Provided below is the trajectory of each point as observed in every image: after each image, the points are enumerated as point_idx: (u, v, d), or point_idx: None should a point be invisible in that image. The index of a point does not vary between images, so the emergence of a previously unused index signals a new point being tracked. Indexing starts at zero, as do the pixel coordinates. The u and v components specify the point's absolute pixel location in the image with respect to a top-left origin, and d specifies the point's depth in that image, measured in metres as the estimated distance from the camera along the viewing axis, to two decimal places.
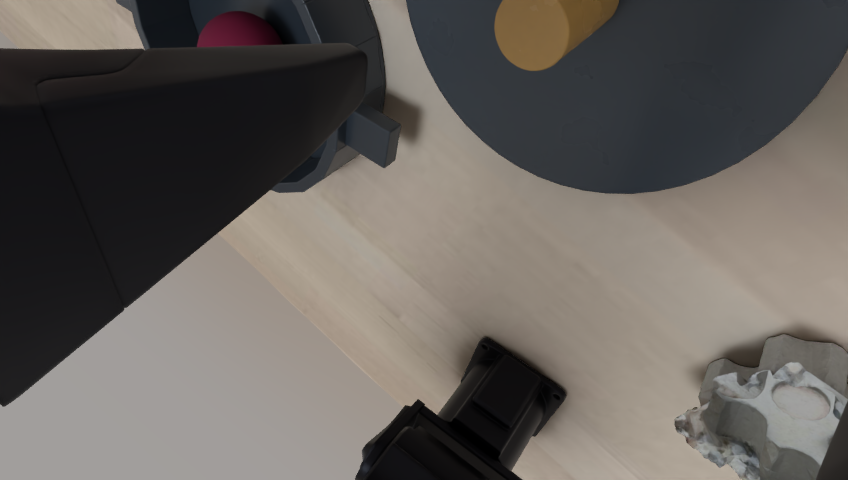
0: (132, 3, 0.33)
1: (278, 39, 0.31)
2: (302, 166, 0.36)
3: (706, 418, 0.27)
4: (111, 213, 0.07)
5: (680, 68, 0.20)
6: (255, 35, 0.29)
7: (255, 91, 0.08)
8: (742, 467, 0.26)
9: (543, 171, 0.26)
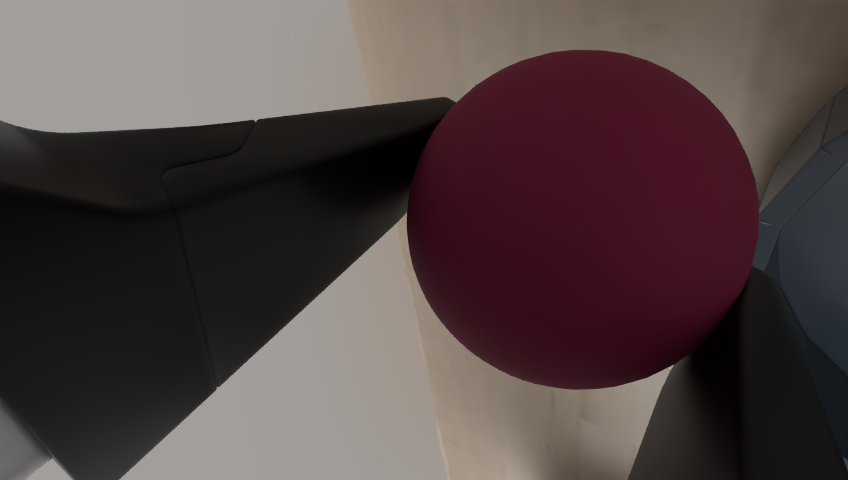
0: None
1: None
2: None
3: None
4: (220, 300, 0.07)
5: None
6: None
7: (367, 161, 0.07)
8: None
9: None
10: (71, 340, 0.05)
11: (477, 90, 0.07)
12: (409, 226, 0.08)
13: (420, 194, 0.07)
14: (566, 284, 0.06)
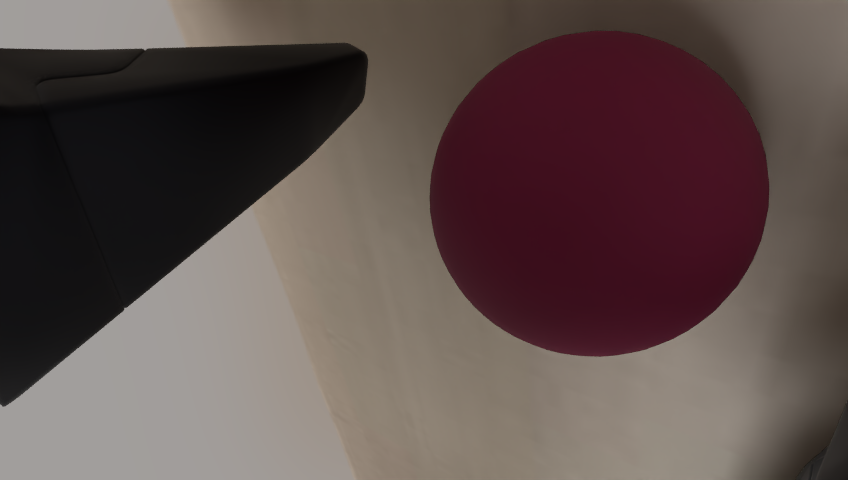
0: None
1: None
2: None
3: None
4: (112, 213, 0.07)
5: None
6: None
7: (255, 91, 0.08)
8: None
9: None
10: None
11: (503, 65, 0.08)
12: (433, 194, 0.08)
13: (446, 161, 0.08)
14: (589, 240, 0.06)
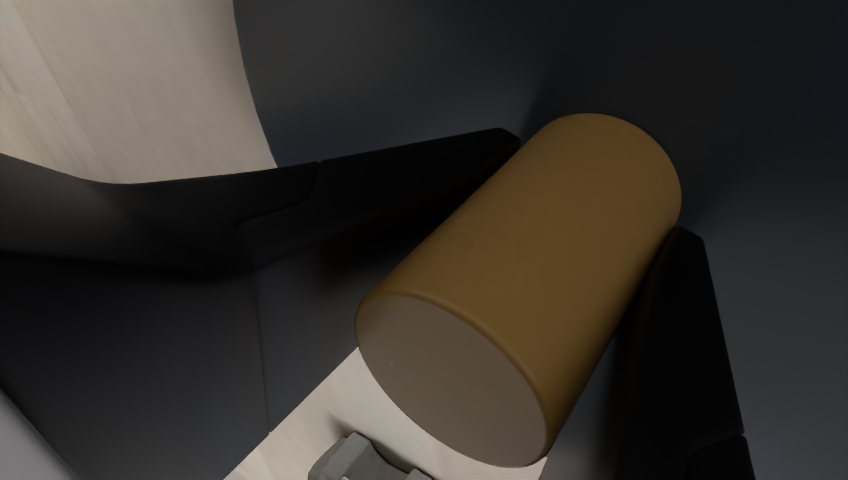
0: None
1: None
2: None
3: None
4: (284, 349, 0.06)
5: None
6: None
7: (432, 201, 0.07)
8: None
9: None
10: (143, 407, 0.05)
11: None
12: None
13: None
14: None
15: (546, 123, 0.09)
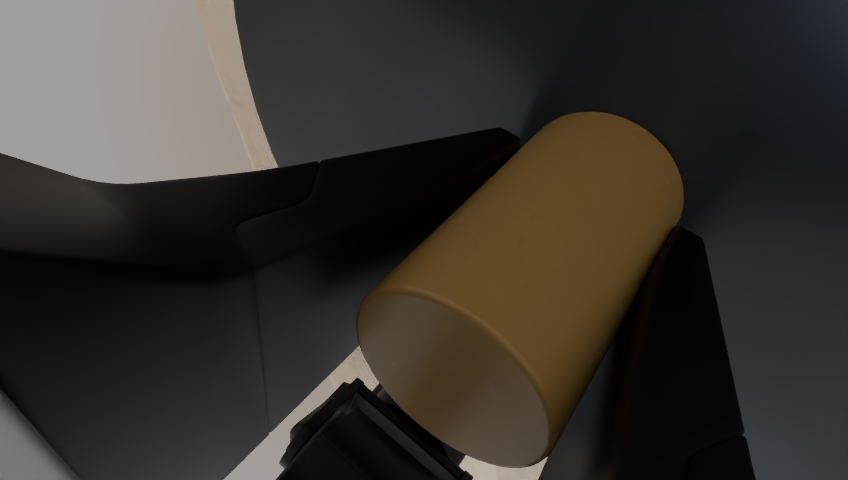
0: None
1: None
2: None
3: None
4: (283, 349, 0.06)
5: None
6: None
7: (432, 201, 0.07)
8: None
9: None
10: (143, 407, 0.05)
11: None
12: None
13: None
14: None
15: (548, 122, 0.09)
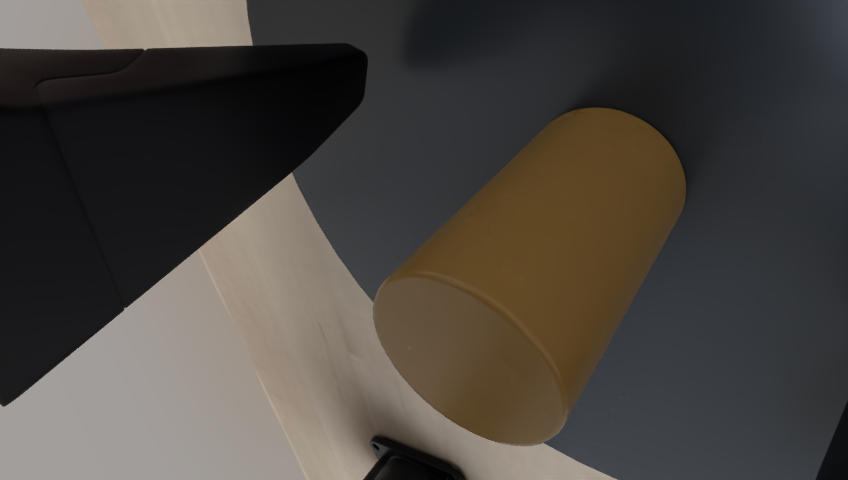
0: None
1: None
2: None
3: None
4: (111, 213, 0.07)
5: None
6: None
7: (255, 91, 0.08)
8: None
9: (327, 225, 0.15)
10: None
11: None
12: None
13: None
14: None
15: (555, 117, 0.09)
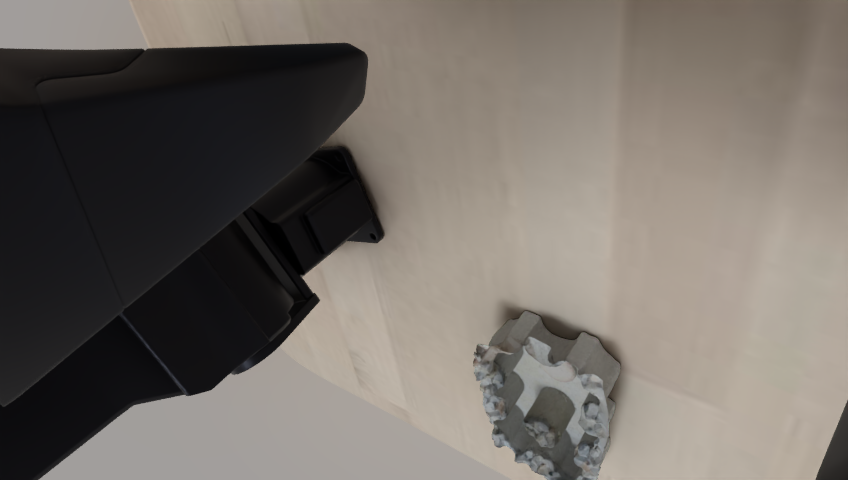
0: None
1: None
2: None
3: None
4: (111, 213, 0.07)
5: None
6: None
7: (255, 91, 0.08)
8: (487, 382, 0.32)
9: None
10: None
11: None
12: None
13: None
14: None
15: None
